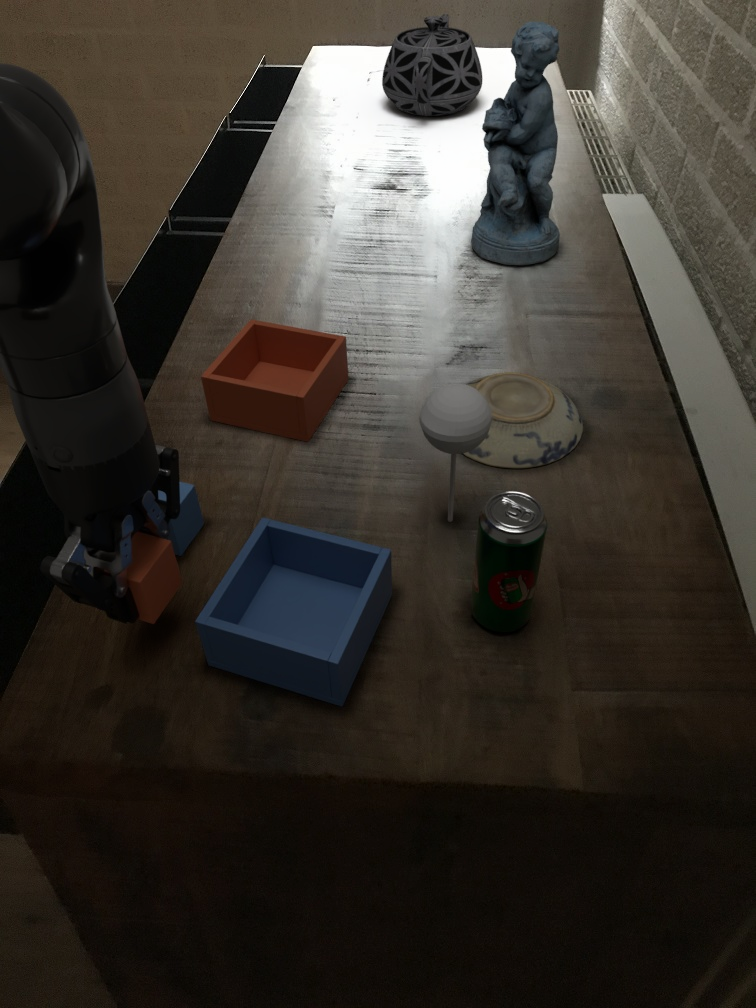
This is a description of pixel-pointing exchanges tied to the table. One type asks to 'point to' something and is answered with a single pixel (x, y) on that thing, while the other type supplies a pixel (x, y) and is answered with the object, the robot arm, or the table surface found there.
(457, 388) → the lollipop
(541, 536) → the soda can
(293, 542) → the blue bin
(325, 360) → the terracotta bin
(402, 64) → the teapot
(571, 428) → the decorative bowl
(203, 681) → the table surface
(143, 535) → the terracotta block
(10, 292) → the robot arm
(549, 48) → the statue
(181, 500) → the blue block
